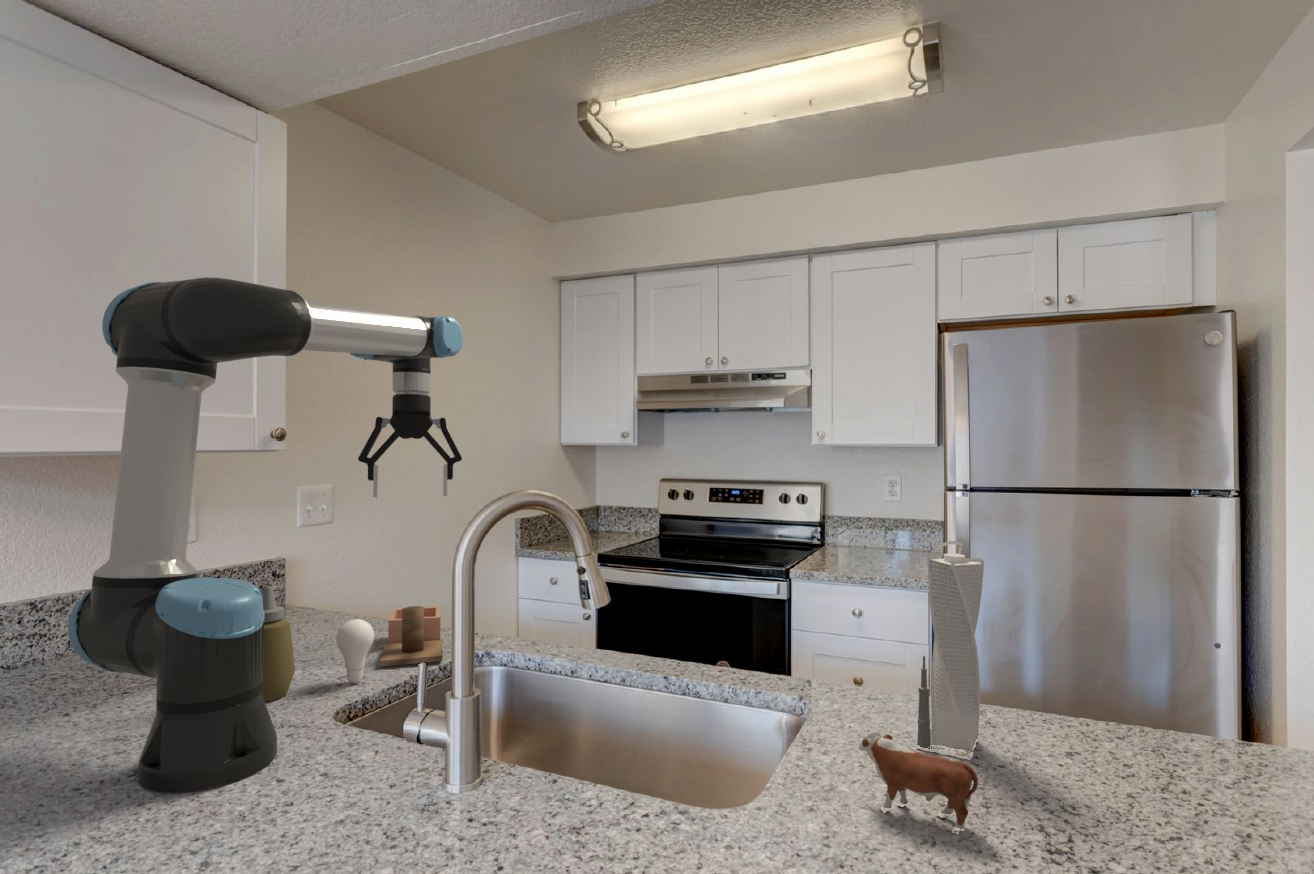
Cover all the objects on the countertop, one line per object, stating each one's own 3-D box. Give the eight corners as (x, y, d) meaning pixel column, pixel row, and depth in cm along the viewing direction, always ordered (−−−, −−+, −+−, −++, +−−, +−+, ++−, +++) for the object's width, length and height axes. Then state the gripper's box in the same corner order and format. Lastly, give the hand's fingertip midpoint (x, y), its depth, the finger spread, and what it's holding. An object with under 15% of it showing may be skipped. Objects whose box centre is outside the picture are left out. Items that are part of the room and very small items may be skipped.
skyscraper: (927, 727, 103) (927, 538, 103) (987, 739, 99) (987, 542, 99) (916, 748, 96) (916, 545, 96) (980, 762, 91) (980, 549, 92)
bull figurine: (863, 787, 85) (863, 720, 85) (981, 826, 76) (981, 752, 76) (848, 802, 81) (848, 732, 81) (970, 844, 73) (970, 766, 73)
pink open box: (388, 650, 140) (388, 620, 140) (392, 637, 149) (392, 609, 150) (440, 646, 143) (440, 617, 143) (440, 633, 152) (440, 606, 152)
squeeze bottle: (251, 709, 109) (252, 594, 109) (229, 698, 114) (230, 588, 114) (303, 695, 115) (304, 586, 115) (281, 684, 120) (281, 580, 120)
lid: (379, 666, 128) (380, 617, 128) (385, 649, 139) (385, 604, 139) (442, 660, 131) (442, 613, 132) (442, 644, 142) (442, 600, 142)
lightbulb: (335, 679, 123) (336, 617, 123) (373, 675, 125) (373, 613, 125) (335, 691, 117) (336, 625, 117) (374, 685, 120) (375, 621, 120)
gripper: (472, 396, 152) (472, 493, 152) (349, 394, 145) (348, 495, 145) (474, 394, 145) (473, 496, 145) (344, 391, 138) (343, 498, 137)
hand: (411, 496), depth 145 cm, fingers open, 13 cm apart
